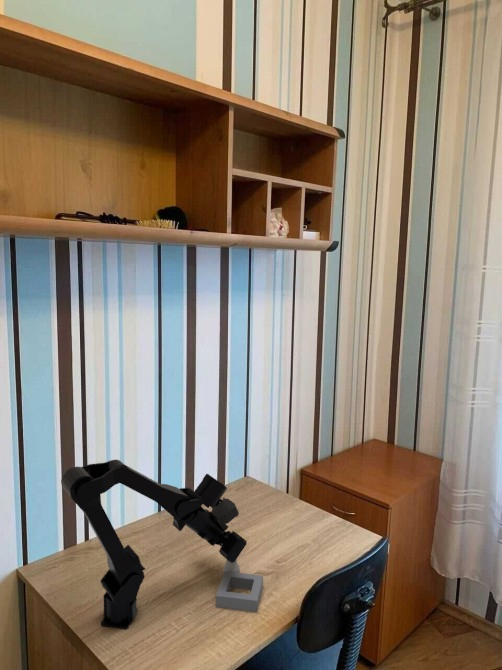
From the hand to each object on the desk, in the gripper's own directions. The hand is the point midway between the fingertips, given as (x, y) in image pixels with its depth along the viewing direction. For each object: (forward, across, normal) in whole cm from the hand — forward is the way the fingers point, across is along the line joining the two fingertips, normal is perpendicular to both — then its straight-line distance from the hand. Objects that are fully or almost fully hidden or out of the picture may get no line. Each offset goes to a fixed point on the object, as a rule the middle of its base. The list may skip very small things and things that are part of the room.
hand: (236, 548), depth 138 cm
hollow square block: (+1, -9, +8) cm, 12 cm away
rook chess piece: (+4, 0, +6) cm, 7 cm away
